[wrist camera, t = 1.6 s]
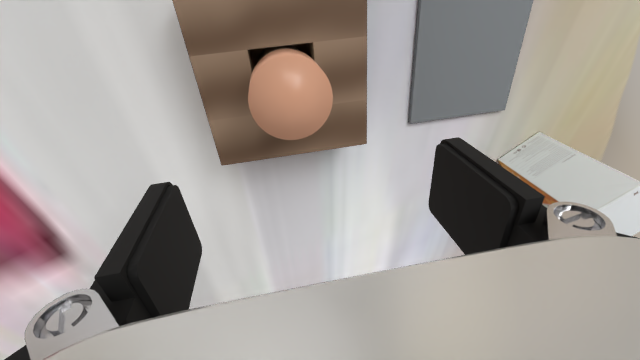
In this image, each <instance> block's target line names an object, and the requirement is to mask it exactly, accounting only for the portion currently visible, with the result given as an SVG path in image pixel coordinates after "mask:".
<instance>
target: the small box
mask: <svg viewBox="0 0 640 360" xmlns="http://www.w3.org/2000/svg"><path fill="white" fill-rule="evenodd" d="M498 161H499V163H500V165H501V166H502V167H503V168H504V169H506V170H507V171H509V172H510V173H512V174H513V175H515V176H516V177H518V178H519V179H521V180H522V181H523V182H525V183H526V184H528V185H529V186H531V187H532V188H534V189H535V190H537V191H538V192H539V193H541V194H542V195H544V196H545V198H544V201H543V203H542V205H544V206H545V207H546V208H548V206H549V205H550V204H552V203H555V202H574V203H579V204H583V205H586V206H589V207H592V208H594V209H596V210H598V211H600V212H602V213H603V214H605V215H606V216H607V217H608V218H609V219H610V220H611V222H612V223H613V225H614V228H615V232H617V233H621V234H625V235H629V236H633V235H634V234H636V233H638V232H640V181H638V180H636V179H634V178H632V177H630V176H628V175H626V174H624V173H622V172H620V171H618V170H616V169H614V168H612V167H609V166H608V165H606V164H604V163H602V162H600V161H597V160H595V159H593V158H591V157H589V156H587V155H585V154H583V153H581V152H579V151H577V150H575V149H573V148H571V147H569V146H567V145H565V144H563V143H561V142H559V141H557V140H555V139H553V138H551V137H549V136H547V135H545V134H543V133H541V132H538V133H537V134H535V135H534V136H532V137H531V138H529V139H528V140H526V141H525V142H523V143H522V144H520V145H519V146H517V147H516V148H514V149H513V150H511V151H510V152H508V153H507V154H505V155H504V156H502V157H501V158H499V159H498Z"/></svg>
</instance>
